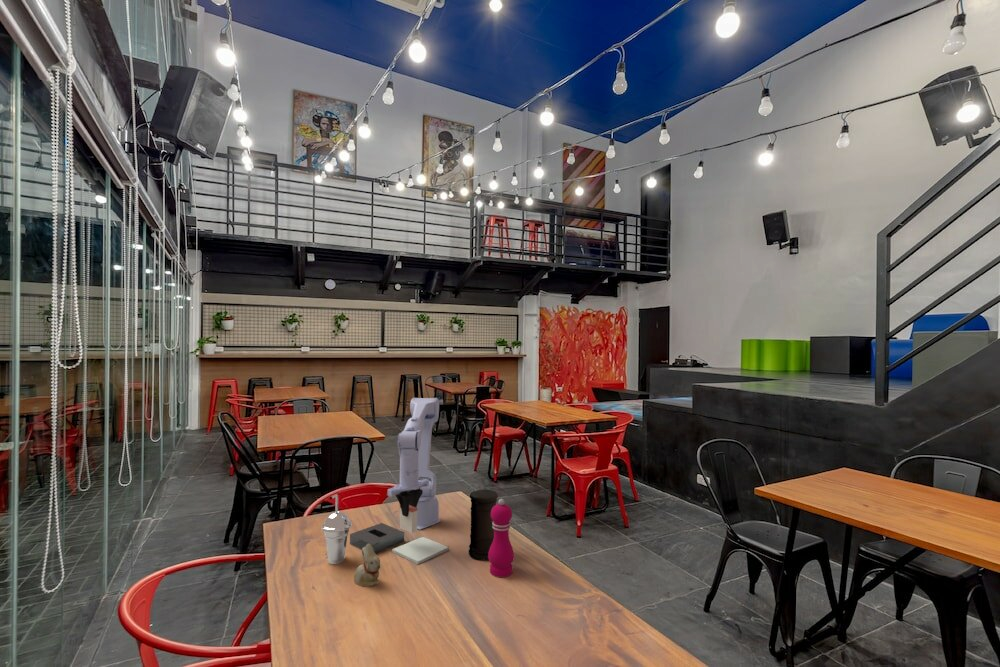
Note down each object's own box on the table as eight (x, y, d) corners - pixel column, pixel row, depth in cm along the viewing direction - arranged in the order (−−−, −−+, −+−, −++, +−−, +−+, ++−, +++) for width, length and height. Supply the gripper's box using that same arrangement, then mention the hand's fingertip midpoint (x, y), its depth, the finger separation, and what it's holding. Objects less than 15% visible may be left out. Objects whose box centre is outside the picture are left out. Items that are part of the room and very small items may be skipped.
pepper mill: (511, 579, 121) (511, 504, 121) (485, 576, 122) (485, 502, 123) (516, 566, 128) (516, 495, 128) (491, 564, 129) (491, 493, 130)
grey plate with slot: (381, 531, 152) (381, 522, 152) (404, 541, 144) (404, 532, 144) (349, 543, 142) (349, 534, 142) (372, 554, 135) (372, 544, 135)
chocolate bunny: (360, 591, 115) (360, 551, 115) (351, 578, 121) (352, 540, 121) (381, 585, 118) (382, 546, 118) (372, 572, 124) (372, 536, 124)
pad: (422, 539, 146) (422, 536, 146) (448, 549, 138) (448, 547, 138) (392, 552, 137) (392, 549, 137) (417, 564, 129) (418, 561, 129)
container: (499, 548, 140) (500, 489, 140) (496, 561, 131) (497, 499, 131) (471, 546, 141) (471, 488, 141) (466, 560, 132) (466, 497, 132)
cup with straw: (357, 557, 133) (358, 488, 134) (334, 570, 125) (335, 498, 126) (336, 551, 137) (337, 485, 137) (312, 564, 129) (313, 493, 129)
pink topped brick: (404, 525, 142) (405, 503, 142) (417, 531, 138) (417, 508, 138) (399, 527, 140) (399, 505, 141) (411, 533, 136) (412, 509, 137)
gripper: (397, 477, 132) (397, 524, 131) (435, 467, 143) (435, 511, 142) (383, 473, 136) (383, 518, 136) (421, 463, 147) (420, 506, 147)
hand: (408, 514), depth 139 cm, fingers closed on pink topped brick, 2 cm apart
